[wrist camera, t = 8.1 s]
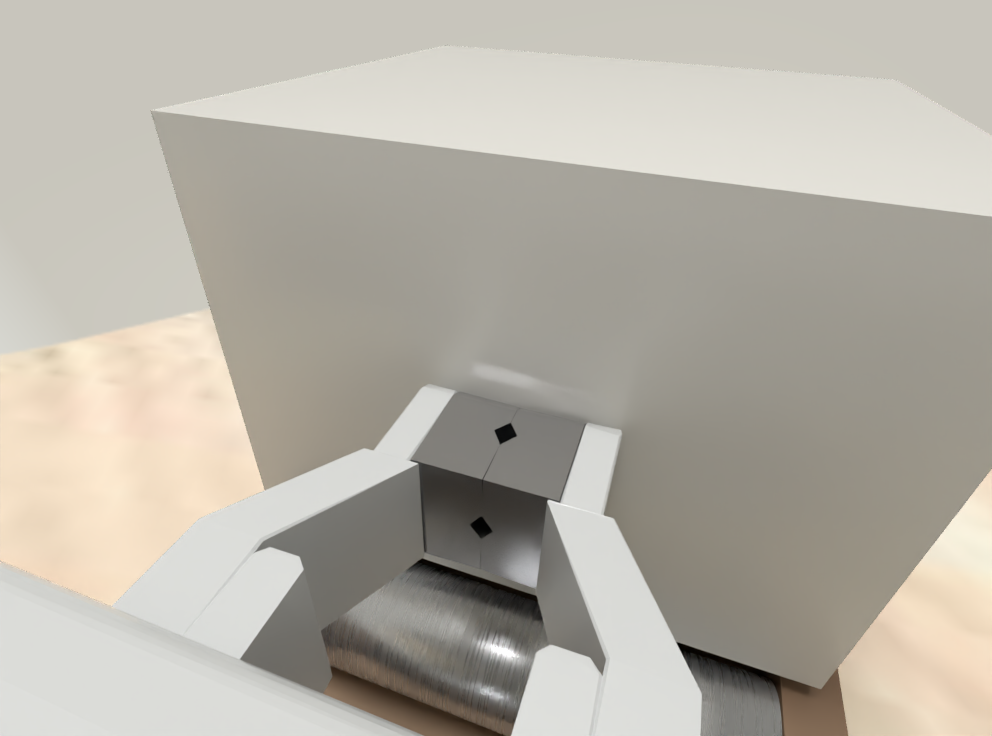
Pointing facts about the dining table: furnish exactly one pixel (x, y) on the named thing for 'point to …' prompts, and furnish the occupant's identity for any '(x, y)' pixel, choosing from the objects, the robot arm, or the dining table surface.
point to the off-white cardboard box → (626, 303)
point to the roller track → (519, 664)
